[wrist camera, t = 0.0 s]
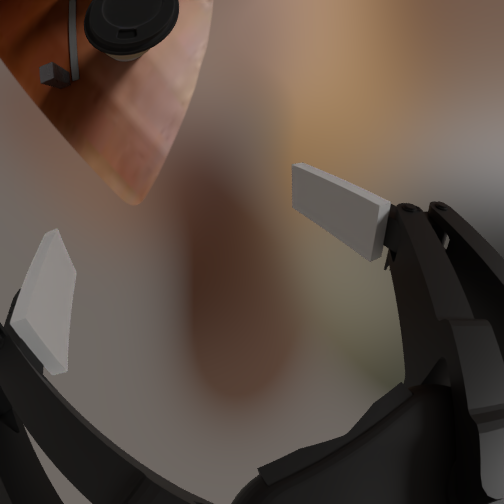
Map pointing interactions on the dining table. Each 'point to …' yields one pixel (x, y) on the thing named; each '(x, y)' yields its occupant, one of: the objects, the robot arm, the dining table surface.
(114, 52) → the coffee cup
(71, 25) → the bar
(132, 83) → the dining table surface
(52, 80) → the post
